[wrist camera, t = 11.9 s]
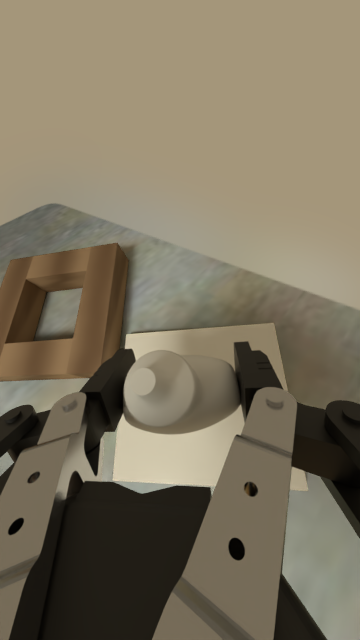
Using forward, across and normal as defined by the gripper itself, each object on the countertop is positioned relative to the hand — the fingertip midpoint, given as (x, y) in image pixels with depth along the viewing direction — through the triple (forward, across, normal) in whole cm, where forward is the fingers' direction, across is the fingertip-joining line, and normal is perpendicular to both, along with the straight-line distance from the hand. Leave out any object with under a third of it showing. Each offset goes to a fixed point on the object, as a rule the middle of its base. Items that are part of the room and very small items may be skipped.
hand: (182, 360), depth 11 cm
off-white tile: (+4, 0, +7) cm, 8 cm away
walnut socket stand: (+11, +15, 0) cm, 18 cm away
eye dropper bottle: (+3, 0, +6) cm, 7 cm away
